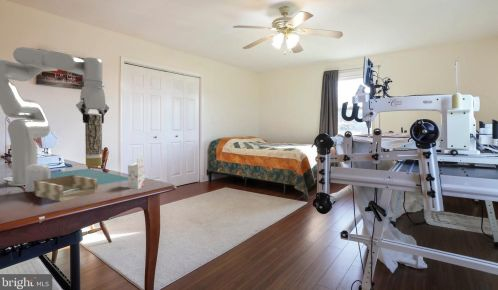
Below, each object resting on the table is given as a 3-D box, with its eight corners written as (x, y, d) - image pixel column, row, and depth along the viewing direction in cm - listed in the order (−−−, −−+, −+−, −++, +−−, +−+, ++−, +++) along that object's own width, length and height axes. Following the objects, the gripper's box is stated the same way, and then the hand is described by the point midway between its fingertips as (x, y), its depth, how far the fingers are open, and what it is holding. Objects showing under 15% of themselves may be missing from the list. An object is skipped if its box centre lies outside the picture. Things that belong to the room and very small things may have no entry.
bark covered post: (94, 167, 122) (94, 113, 120) (82, 166, 123) (81, 113, 121) (105, 165, 128) (105, 114, 126) (93, 164, 130) (93, 113, 128)
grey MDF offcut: (61, 197, 104) (61, 194, 104) (85, 192, 113) (85, 188, 113) (66, 199, 103) (66, 195, 103) (90, 193, 112) (90, 189, 112)
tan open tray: (34, 198, 106) (34, 181, 105) (73, 189, 120) (72, 174, 119) (60, 204, 99) (59, 186, 99) (97, 194, 114) (97, 179, 113)
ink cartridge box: (135, 185, 133) (135, 156, 132) (144, 185, 133) (145, 157, 132) (127, 189, 125) (127, 158, 124) (137, 189, 125) (137, 159, 124)
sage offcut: (58, 201, 104) (54, 200, 104) (79, 194, 113) (76, 194, 114) (58, 193, 103) (54, 193, 104) (79, 188, 113) (76, 187, 113)
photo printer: (52, 191, 116) (52, 164, 115) (43, 194, 111) (43, 165, 110) (33, 190, 117) (32, 162, 116) (23, 192, 113) (22, 164, 112)
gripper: (104, 88, 132) (104, 123, 134) (69, 82, 116) (69, 122, 118) (115, 87, 129) (115, 123, 131) (80, 81, 113) (80, 123, 115)
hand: (93, 122), depth 124 cm, fingers closed on bark covered post, 6 cm apart
